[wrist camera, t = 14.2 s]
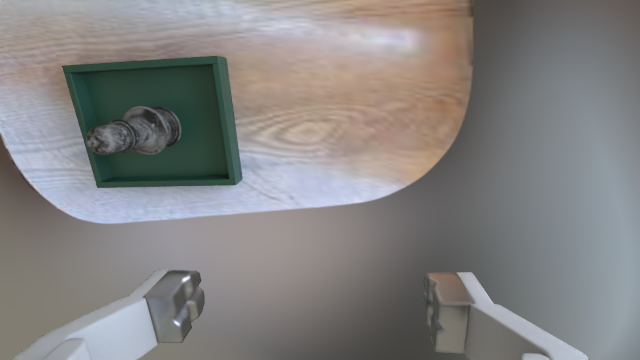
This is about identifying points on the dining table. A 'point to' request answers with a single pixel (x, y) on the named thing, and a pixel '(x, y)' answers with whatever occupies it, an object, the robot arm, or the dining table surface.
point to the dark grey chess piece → (136, 132)
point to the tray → (169, 92)
